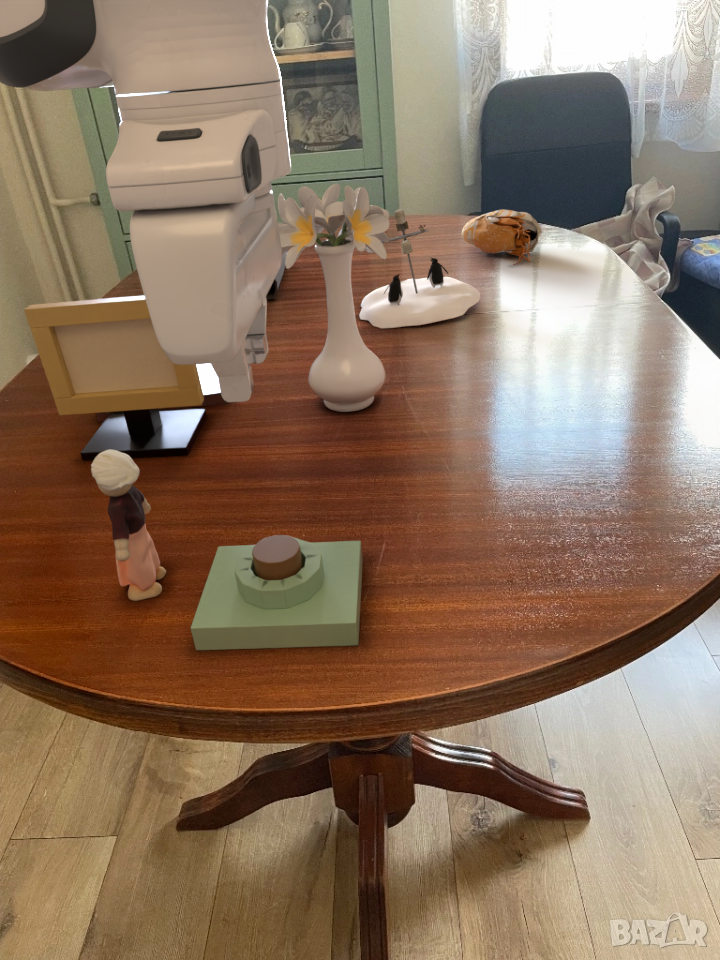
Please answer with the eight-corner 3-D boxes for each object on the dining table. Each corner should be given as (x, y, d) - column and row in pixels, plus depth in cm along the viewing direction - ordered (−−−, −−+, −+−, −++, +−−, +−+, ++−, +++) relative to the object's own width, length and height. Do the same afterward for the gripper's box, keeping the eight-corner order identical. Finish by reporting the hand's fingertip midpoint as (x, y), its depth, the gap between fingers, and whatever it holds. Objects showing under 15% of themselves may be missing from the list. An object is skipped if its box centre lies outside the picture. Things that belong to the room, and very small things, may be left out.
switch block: (195, 650, 53) (185, 609, 51) (222, 567, 62) (214, 528, 60) (358, 645, 53) (354, 603, 50) (362, 561, 61) (359, 522, 59)
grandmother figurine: (124, 564, 63) (85, 435, 57) (169, 556, 64) (135, 427, 57) (119, 622, 57) (75, 483, 50) (169, 611, 57) (131, 473, 51)
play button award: (95, 410, 89) (112, 354, 106) (98, 421, 90) (114, 364, 107) (227, 391, 91) (223, 339, 108) (229, 402, 92) (224, 349, 109)
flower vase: (404, 369, 97) (394, 167, 84) (393, 433, 81) (379, 196, 68) (308, 372, 98) (284, 174, 86) (279, 434, 83) (245, 204, 70)
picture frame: (59, 415, 80) (23, 309, 74) (64, 409, 81) (30, 304, 75) (201, 405, 79) (176, 296, 73) (204, 399, 80) (180, 292, 74)
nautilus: (559, 268, 134) (479, 280, 134) (528, 235, 152) (457, 246, 152) (561, 224, 130) (477, 236, 130) (529, 196, 147) (456, 207, 147)
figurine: (452, 279, 127) (442, 182, 118) (500, 308, 112) (493, 200, 103) (344, 308, 124) (326, 211, 115) (379, 343, 109) (362, 234, 100)
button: (251, 582, 54) (248, 564, 53) (259, 553, 57) (256, 535, 56) (299, 580, 54) (296, 562, 53) (304, 552, 57) (302, 533, 56)
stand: (82, 460, 81) (50, 359, 75) (111, 421, 89) (85, 327, 83) (187, 455, 80) (164, 352, 74) (207, 415, 89) (188, 320, 83)
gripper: (196, 132, 50) (230, 327, 57) (90, 179, 32) (158, 454, 39) (287, 125, 49) (310, 322, 56) (231, 168, 32) (274, 448, 39)
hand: (247, 377), depth 47 cm, fingers open, 5 cm apart
